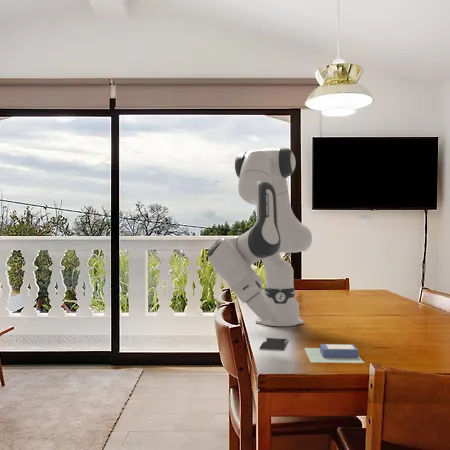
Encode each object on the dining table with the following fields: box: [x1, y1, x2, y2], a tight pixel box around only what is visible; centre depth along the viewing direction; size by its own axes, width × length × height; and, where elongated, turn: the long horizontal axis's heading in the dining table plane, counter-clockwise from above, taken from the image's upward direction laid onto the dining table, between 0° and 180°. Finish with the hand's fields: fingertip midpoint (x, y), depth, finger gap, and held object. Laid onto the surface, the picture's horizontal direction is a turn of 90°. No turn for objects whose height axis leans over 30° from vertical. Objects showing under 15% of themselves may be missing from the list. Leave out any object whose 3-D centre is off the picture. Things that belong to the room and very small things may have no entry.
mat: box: [303, 347, 365, 364], centre depth 146 cm, size 16×15×1 cm
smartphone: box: [259, 337, 289, 352], centre depth 158 cm, size 8×1×15 cm
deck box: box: [319, 343, 359, 358], centre depth 146 cm, size 6×2×10 cm
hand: (276, 321), depth 148 cm, fingers closed
